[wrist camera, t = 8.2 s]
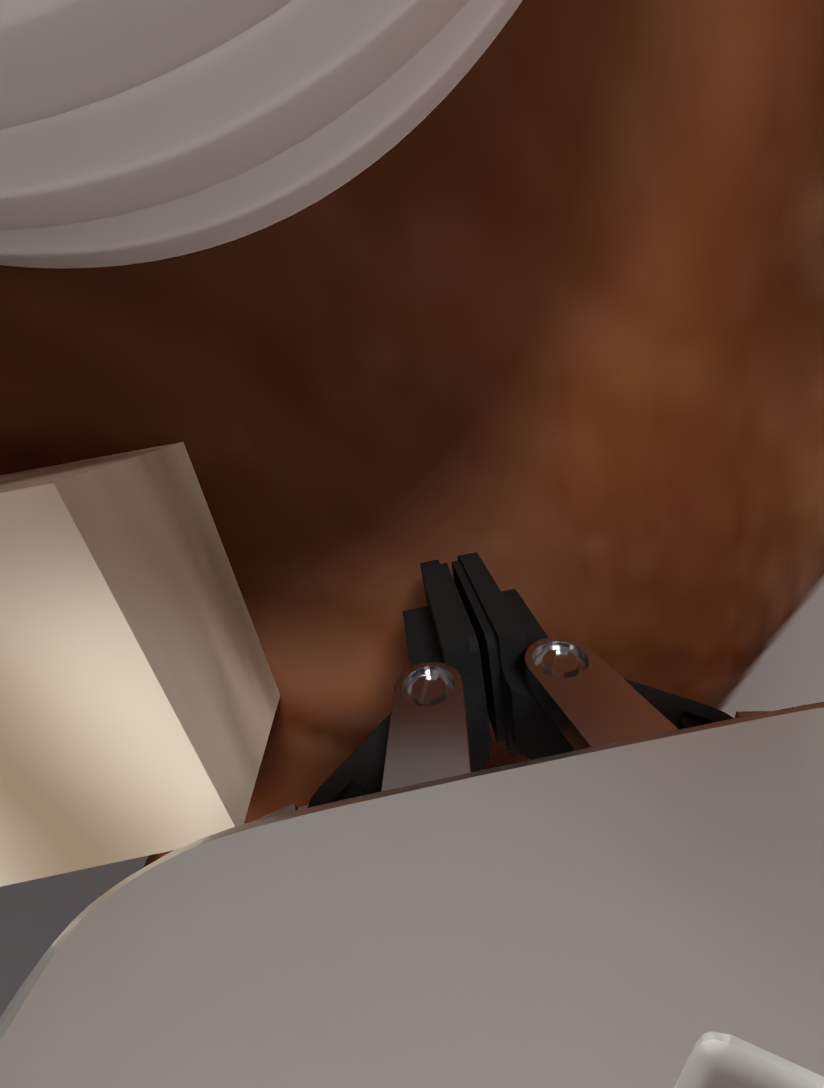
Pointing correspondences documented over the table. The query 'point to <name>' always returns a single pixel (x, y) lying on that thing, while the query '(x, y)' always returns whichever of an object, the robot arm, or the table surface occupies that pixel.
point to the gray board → (47, 916)
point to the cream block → (121, 667)
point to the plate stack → (206, 113)
